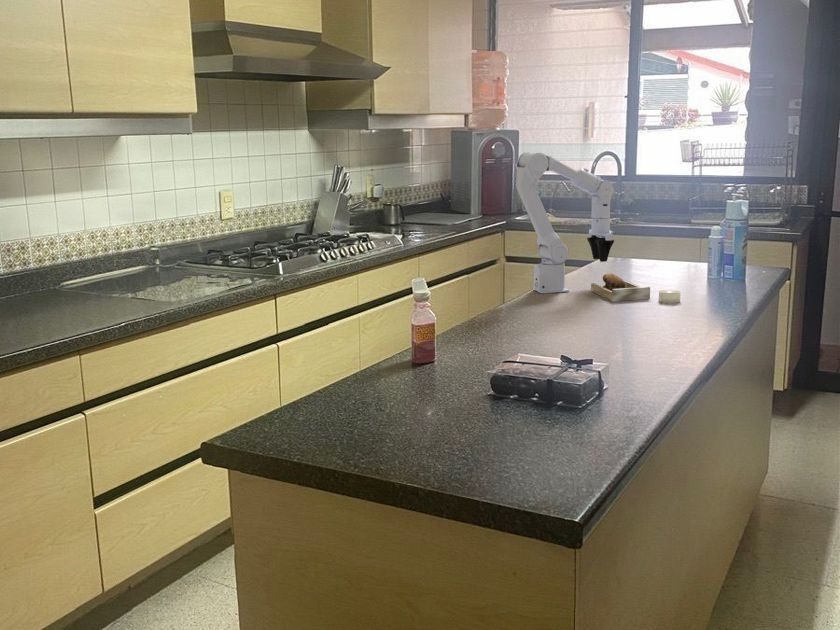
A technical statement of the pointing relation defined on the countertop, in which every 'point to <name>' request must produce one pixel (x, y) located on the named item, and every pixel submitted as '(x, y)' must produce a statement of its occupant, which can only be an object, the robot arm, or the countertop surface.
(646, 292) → the guide fence
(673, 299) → the soap bar
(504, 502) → the countertop surface
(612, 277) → the mushroom
